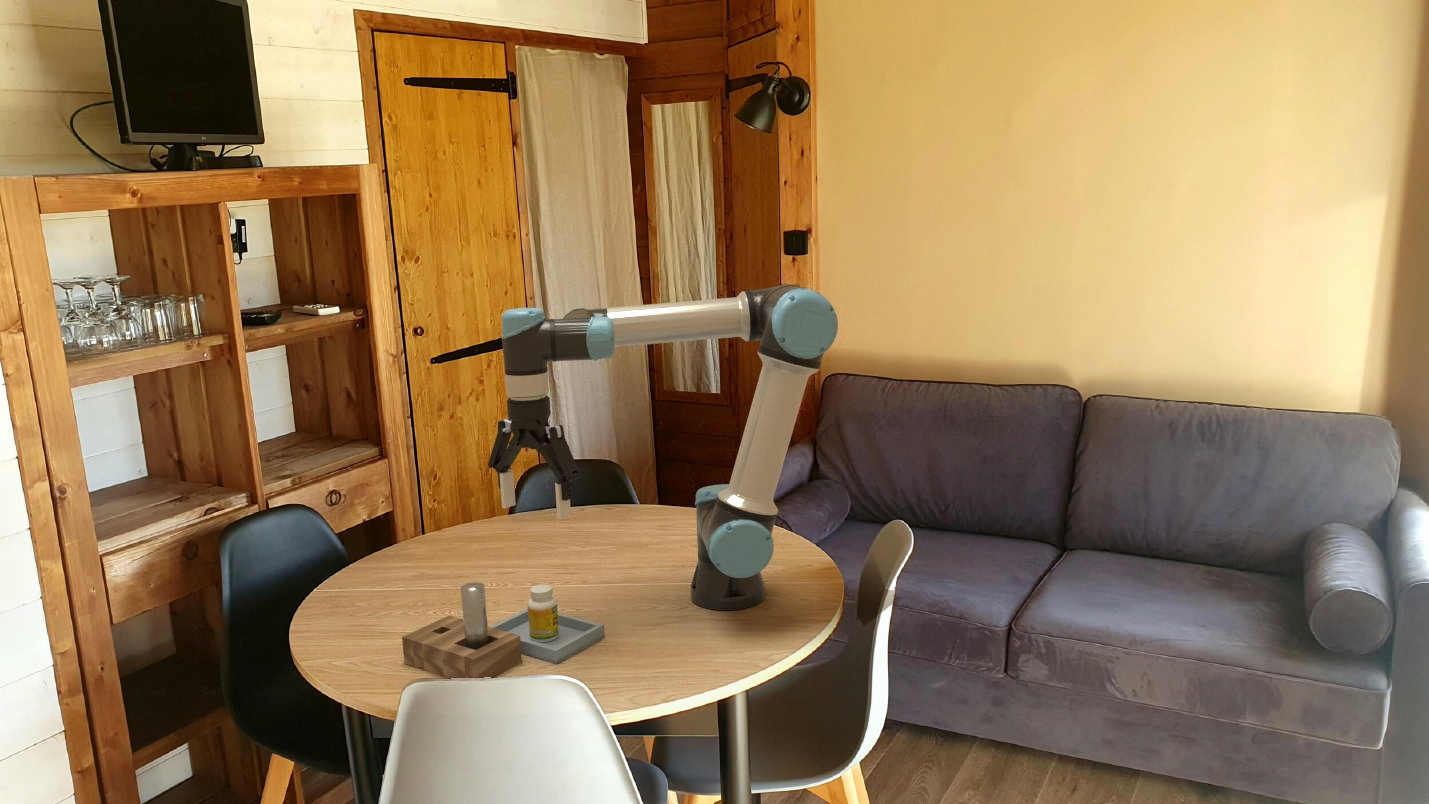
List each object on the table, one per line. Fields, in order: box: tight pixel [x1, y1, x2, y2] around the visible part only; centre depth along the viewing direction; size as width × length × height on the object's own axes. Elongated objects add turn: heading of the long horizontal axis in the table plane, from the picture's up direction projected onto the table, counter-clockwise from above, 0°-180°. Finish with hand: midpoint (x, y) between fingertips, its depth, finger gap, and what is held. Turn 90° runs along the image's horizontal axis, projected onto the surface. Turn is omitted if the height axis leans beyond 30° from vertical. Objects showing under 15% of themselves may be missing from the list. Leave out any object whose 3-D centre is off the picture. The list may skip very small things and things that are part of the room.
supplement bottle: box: [527, 584, 559, 643], centre depth 191 cm, size 5×5×10 cm
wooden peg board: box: [401, 614, 523, 679], centre depth 183 cm, size 18×11×5 cm, turn 56°
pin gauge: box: [460, 581, 489, 650], centre depth 180 cm, size 4×4×15 cm
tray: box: [489, 608, 606, 665], centre depth 192 cm, size 18×13×2 cm
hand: (535, 511), depth 187 cm, fingers open, 13 cm apart
